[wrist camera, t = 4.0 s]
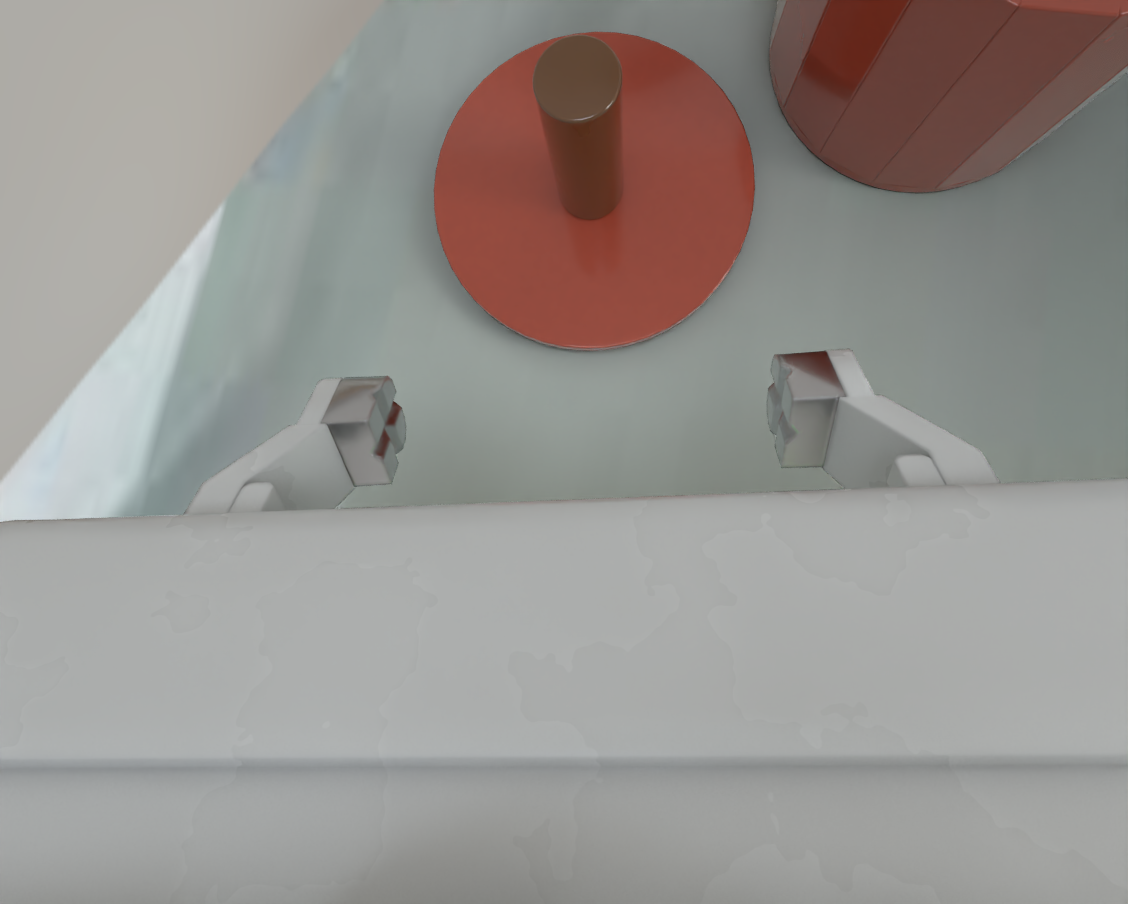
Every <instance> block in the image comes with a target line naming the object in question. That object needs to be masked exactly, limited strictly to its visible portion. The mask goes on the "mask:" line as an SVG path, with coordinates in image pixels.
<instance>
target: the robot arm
mask: <svg viewBox="0 0 1128 904" xmlns="http://www.w3.org/2000/svg"><path fill="white" fill-rule="evenodd" d="M771 374H772V377H773V381H774V383H773V384H772V385H771V386H770V387H769V388H768V395H767V418H768V424H769V428H770V431H771V432H772V433H773V434H775V435H776V440H775V449H776V452H777V455H778V459H779V462H780V465H781V468H801V467H823V469H824V470H825V471H826V472H827V473H828V474H829V475H831V476H832V477H833V478H834V479H835V480H836V481H837V482H838V483H840V484H841V485H842V486H843V487H844V488H845V489H830V490H803V491H777V492H752V493H726V494H701V495H675V496H650V497H624V498H598V499H572V500H547V501H521V502H495V503H469V504H443V505H417V506H392V507H366V508H340V509H335V508H336V507H337V506H338V505H339V504H340V503H341V502H342V501H343V500H344V499H345V498H346V497H347V496H348V495H349V494H350V493H351V492H352V491H353V490H354V487H357V486H372V485H386V484H392V482H393V479H394V476H395V473H396V470H397V466H398V463H399V462H398V460H397V457H396V454H397V453H398V452H400V451H401V450H402V449H403V447H404V444H405V440H406V422H405V416H404V413H403V410H402V407H400V406H399V405H398V404H397V403H395V402H394V401H393V400H394V397H395V394H396V389H395V386H394V384H393V381H392V379H391V378H390V377H388V376H374V377H346V378H327V379H321V380H319V381H318V382H317V384H316V386H315V388H314V390H313V392H312V394H311V396H310V398H309V400H308V402H307V404H306V406H305V408H304V410H303V412H302V414H301V416H300V418H299V420H298V422H297V423H296V425H289V426H287V427H286V428H284V429H283V430H281V431H280V432H278V433H277V434H275V435H274V436H272V437H271V438H269V439H268V440H266V441H265V442H263V443H262V444H260V445H259V446H257V447H256V448H254V449H253V450H251V451H250V452H248V453H247V454H245V455H244V456H242V457H241V458H239V459H238V460H236V461H235V462H233V463H232V464H230V465H229V466H227V467H226V468H224V469H223V470H221V471H220V472H218V473H217V474H215V475H214V476H212V477H211V478H209V479H208V480H206V481H205V482H203V483H202V484H201V486H200V488H199V489H198V491H197V493H196V494H195V496H194V498H193V499H192V501H191V503H190V504H189V506H188V507H187V509H186V511H185V512H184V514H183V515H160V516H134V517H109V518H83V519H57V520H13V521H4V522H0V904H1128V478H1113V479H1089V480H1065V481H1040V482H1014V483H1001V482H1000V481H999V479H998V477H997V476H996V474H995V473H994V471H993V469H992V468H991V466H990V464H989V463H988V461H987V459H986V458H985V456H984V455H983V453H982V451H981V450H980V449H978V448H976V447H974V446H972V445H971V444H969V443H967V442H965V441H964V440H962V439H960V438H958V437H956V436H955V435H953V434H951V433H949V432H947V431H946V430H944V429H942V428H940V427H938V426H937V425H935V424H933V423H931V422H929V421H928V420H926V419H924V418H922V417H921V416H919V415H917V414H915V413H913V412H912V411H910V410H908V409H906V408H904V407H903V406H901V405H899V404H897V403H895V402H894V401H892V400H890V399H888V398H887V397H885V396H883V395H875V394H874V392H873V390H872V388H871V386H870V384H869V382H868V380H867V378H866V376H865V374H864V372H863V370H862V368H861V366H860V364H859V362H858V360H857V358H856V356H855V354H854V352H853V351H852V350H851V349H837V350H826V351H820V352H806V353H791V354H777V355H774V357H773V360H772V365H771Z"/></svg>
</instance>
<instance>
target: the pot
mask: <svg viewBox="0 0 1128 904" xmlns="http://www.w3.org/2000/svg"><path fill="white" fill-rule="evenodd" d="M769 57H770V72H771V77H772V82H773V88H774V91H775V94H776V97H777V100H778V103H779V105H780V108H781V110H782V112H783V114H784V116H785V118H786V120H787V122H788V123H789V125H790V126H791V128H792V129H793V130H794V132H795V133H796V135H797V136H798V138H799V139H800V140H801V141H802V142H803V143H804V144H805V145H806V146H807V148H808V149H809V150H810V151H811V152H812V153H813V154H815V155H816V156H817V157H818V158H819V159H821V160H822V161H823V162H824V163H825V164H827V165H829V166H830V167H832V168H833V169H835V170H836V171H838V172H840V173H841V174H843V175H845V176H847V177H850V178H852V179H854V180H856V181H858V182H861V183H864V184H867V185H870V186H873V187H877V188H881V189H887V190H892V191H898V192H915V193H920V192H935V191H942V190H947V189H953V188H958V187H961V186H964V185H967V184H970V183H973V182H977V181H979V180H981V179H983V178H986V177H988V176H990V175H992V174H995V173H997V172H999V171H1000V170H1002V169H1003V168H1004V167H1006V166H1008V165H1009V164H1011V163H1012V162H1014V161H1015V160H1016V159H1018V158H1019V157H1020V156H1021V155H1023V154H1024V153H1025V152H1027V151H1028V150H1030V149H1031V148H1032V147H1034V146H1035V145H1037V144H1038V143H1039V142H1041V141H1042V140H1043V139H1045V138H1046V137H1047V136H1049V135H1050V134H1051V133H1052V132H1054V131H1055V130H1056V129H1057V128H1059V127H1060V126H1061V125H1062V124H1064V123H1065V122H1066V121H1067V120H1069V119H1070V118H1071V117H1072V116H1073V115H1075V114H1076V113H1077V112H1078V111H1080V110H1081V109H1082V108H1083V107H1085V106H1086V105H1087V104H1088V103H1090V102H1091V101H1092V100H1093V99H1095V98H1096V97H1097V96H1098V95H1099V94H1101V93H1102V92H1103V91H1104V90H1106V89H1107V88H1108V87H1109V86H1111V85H1112V84H1113V83H1114V82H1116V81H1117V80H1118V79H1119V78H1121V77H1122V76H1123V75H1124V74H1125V73H1127V72H1128V0H777V6H776V13H775V17H774V21H773V26H772V30H771V37H770V48H769Z"/></svg>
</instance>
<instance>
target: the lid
mask: <svg viewBox="0 0 1128 904" xmlns="http://www.w3.org/2000/svg"><path fill="white" fill-rule="evenodd" d="M754 191H755V181H754V165H753V159H752V154H751V148H750V145H749V141H748V138H747V135H746V132H745V129H744V126H743V124H742V122H741V120H740V118H739V116H738V114H737V112H736V110H735V108H734V106H733V105H732V104H731V102H730V101H729V99H728V98H727V96H726V95H725V93H724V92H723V90H722V89H721V88H720V87H719V86H718V85H717V84H716V82H715V81H714V80H713V79H712V78H711V77H710V76H709V75H708V74H707V73H706V72H705V71H703V70H702V69H701V68H700V67H699V66H698V65H696V64H695V63H694V62H693V61H691V60H690V59H688V58H686V57H685V56H683V55H682V54H680V53H679V52H677V51H675V50H673V49H671V48H669V47H667V46H664V45H662V44H660V43H658V42H655V41H652V40H649V39H645V38H642V37H639V36H634V35H628V34H622V33H615V32H588V33H577V34H572V35H567V36H563V37H558V38H554V39H551V40H548V41H546V42H543V43H540V44H537V45H535V46H533V47H531V48H529V49H527V50H525V51H523V52H521V53H519V54H517V55H515V56H514V57H512V58H511V59H509V60H508V61H506V62H505V63H503V64H502V65H500V66H499V67H498V68H497V69H495V70H494V71H493V72H492V73H491V74H490V75H488V76H487V77H486V78H485V79H484V80H483V81H482V82H481V83H480V84H479V85H478V86H477V88H476V89H475V90H474V91H473V92H472V93H471V94H470V95H469V97H468V98H467V100H466V101H465V102H464V104H463V105H462V107H461V108H460V110H459V111H458V113H457V115H456V116H455V118H454V120H453V122H452V124H451V126H450V128H449V130H448V132H447V135H446V137H445V140H444V143H443V145H442V148H441V151H440V155H439V160H438V164H437V168H436V175H435V185H434V211H435V217H436V224H437V230H438V233H439V237H440V240H441V244H442V247H443V250H444V252H445V255H446V257H447V259H448V261H449V263H450V266H451V268H452V270H453V271H454V273H455V274H456V276H457V278H458V279H459V281H460V282H461V284H462V286H463V287H464V288H465V289H466V290H467V292H468V293H469V294H470V295H471V296H472V298H473V299H474V300H475V301H476V302H477V304H478V305H480V306H481V307H482V308H483V309H484V310H485V311H486V312H487V313H488V314H489V315H490V316H491V317H493V318H494V319H496V320H497V321H498V322H500V323H501V324H503V325H504V326H505V327H507V328H508V329H510V330H512V331H514V332H516V333H518V334H520V335H522V336H524V337H526V338H528V339H531V340H534V341H536V342H539V343H542V344H545V345H549V346H553V347H558V348H563V349H570V350H582V351H594V350H609V349H615V348H620V347H626V346H630V345H633V344H636V343H639V342H642V341H646V340H648V339H651V338H653V337H655V336H657V335H659V334H661V333H664V332H666V331H668V330H669V329H671V328H672V327H674V326H676V325H677V324H679V323H680V322H682V321H683V320H685V319H686V318H688V317H689V316H690V315H691V314H692V313H694V312H695V311H696V310H697V309H698V308H700V307H701V306H702V305H703V304H704V303H705V302H706V301H707V299H708V298H709V297H710V296H711V295H712V294H713V293H714V292H715V291H716V290H717V288H718V287H719V286H720V284H721V283H722V281H723V280H724V279H725V277H726V276H727V274H728V273H729V271H730V269H731V267H732V265H733V264H734V262H735V260H736V258H737V256H738V254H739V252H740V250H741V248H742V245H743V242H744V240H745V237H746V234H747V232H748V228H749V224H750V220H751V215H752V211H753V202H754Z"/></svg>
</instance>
